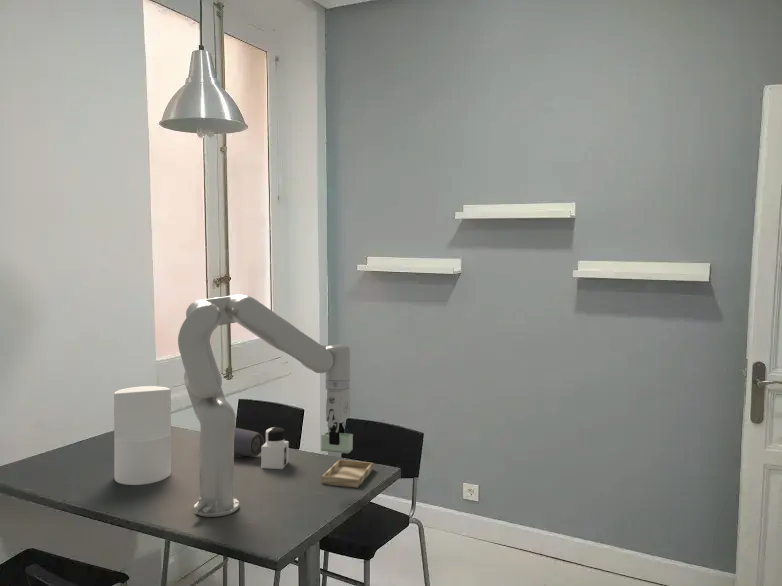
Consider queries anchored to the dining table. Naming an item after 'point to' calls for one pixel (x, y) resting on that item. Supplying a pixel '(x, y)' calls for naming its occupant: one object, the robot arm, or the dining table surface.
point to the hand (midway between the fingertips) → (337, 441)
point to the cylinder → (142, 435)
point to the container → (275, 449)
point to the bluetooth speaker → (247, 443)
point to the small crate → (344, 443)
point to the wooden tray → (347, 473)
